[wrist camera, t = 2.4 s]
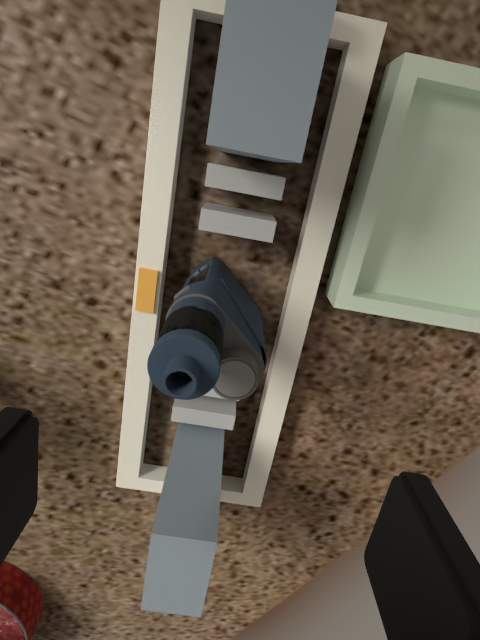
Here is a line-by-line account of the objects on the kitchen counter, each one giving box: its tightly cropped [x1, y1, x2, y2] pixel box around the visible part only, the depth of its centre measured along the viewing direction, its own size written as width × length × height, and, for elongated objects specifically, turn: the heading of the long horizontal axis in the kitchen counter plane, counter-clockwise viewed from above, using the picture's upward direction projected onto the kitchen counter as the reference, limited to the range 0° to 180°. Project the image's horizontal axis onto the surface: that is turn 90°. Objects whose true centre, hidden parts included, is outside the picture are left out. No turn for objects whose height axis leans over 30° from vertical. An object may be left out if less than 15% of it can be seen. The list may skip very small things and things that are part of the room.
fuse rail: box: [116, 0, 387, 617], centre depth 19 cm, size 28×10×10 cm, turn 170°
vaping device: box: [147, 257, 267, 400], centre depth 18 cm, size 3×5×12 cm, turn 37°
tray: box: [325, 52, 480, 333], centre depth 21 cm, size 12×10×2 cm
